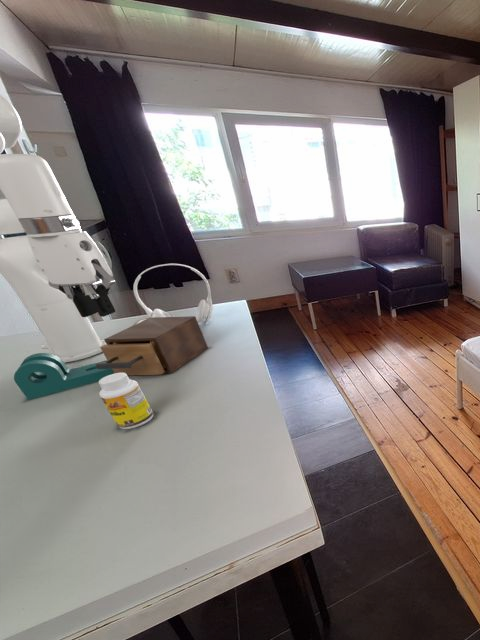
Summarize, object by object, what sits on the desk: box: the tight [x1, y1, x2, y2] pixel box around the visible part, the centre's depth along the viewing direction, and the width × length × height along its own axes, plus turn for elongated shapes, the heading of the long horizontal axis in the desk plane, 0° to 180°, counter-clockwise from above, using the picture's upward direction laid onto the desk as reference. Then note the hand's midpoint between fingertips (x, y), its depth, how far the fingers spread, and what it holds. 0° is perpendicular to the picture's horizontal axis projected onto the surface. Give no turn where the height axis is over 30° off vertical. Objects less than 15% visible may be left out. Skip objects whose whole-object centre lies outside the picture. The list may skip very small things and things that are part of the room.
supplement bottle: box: [98, 373, 154, 430], centre depth 70 cm, size 6×6×10 cm
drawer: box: [96, 341, 166, 376], centre depth 89 cm, size 17×11×8 cm, turn 178°
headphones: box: [133, 263, 214, 325], centre depth 112 cm, size 7×18×20 cm, turn 127°
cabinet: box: [103, 315, 209, 374], centre depth 94 cm, size 14×13×10 cm
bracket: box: [13, 352, 115, 401], centre depth 87 cm, size 18×7×8 cm, turn 128°
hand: (99, 313), depth 79 cm, fingers open, 3 cm apart
